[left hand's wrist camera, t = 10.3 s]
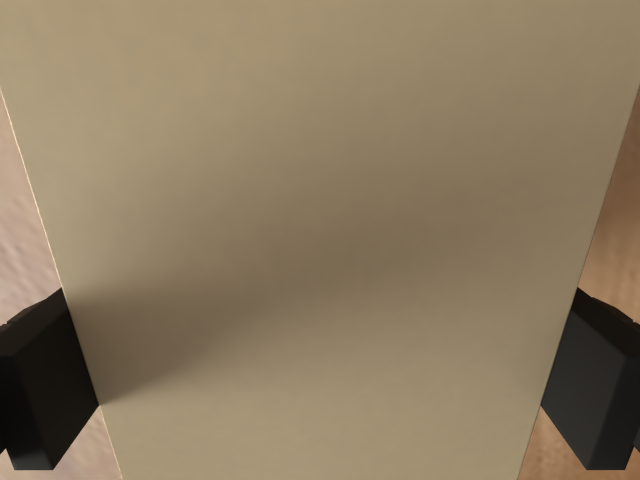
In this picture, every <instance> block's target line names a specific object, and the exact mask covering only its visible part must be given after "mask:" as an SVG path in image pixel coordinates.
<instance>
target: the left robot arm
mask: <svg viewBox="0 0 640 480" xmlns="http://www.w3.org/2000/svg"><path fill="white" fill-rule="evenodd" d="M98 406H99V404H98V401H97V398H96V394H95V391H94V388H93V385H92V382H91V379H90V375H89V372H88V369H87V366H86V363H85V359H84V356H83V353H82V350H81V347H80V343H79V340H78V337H77V334H76V331H75V328H74V324H73V321H72V318H71V315H70V312H69V308H68V305H67V302H66V299H65V296H64V293H63V289H62V287H61V288H60V289H59V290H57V291H56V292H55V293H53V294H52V295H51V296H49V297H48V298H47V299H45V300H43V301H41V302H38V303H36V304H34V305H32V306H30V307H28V308H26V309H24V310H22V311H21V312H19V313H18V314H17V315H15V316H14V317H13V318H11V319H10V320H8V321H7V324H3V325H2V326H0V454H1V453H2V452H3V451H4V450H5V448H6V450H7V452H8V455H9V457H10V460H11V462H12V465H13V467H14V470H53V469H54V468H55V467H56V465H57V464H58V462H59V461H60V460H61V458H62V457H63V455H64V454H65V453H66V451H67V450H68V448H69V447H70V445H71V444H72V443H73V441H74V440H75V438H76V437H77V436H78V434H79V433H80V431H81V430H82V429H83V427H84V426H85V424H86V423H87V422H88V420H89V419H90V417H91V416H92V414H93V413H94V412H95V410H96V409H97V407H98ZM541 407H542V408H543V409H544V411H545V412H546V414H547V415H548V416H549V418H550V419H551V421H552V422H553V424H554V425H555V426H556V428H557V429H558V431H559V432H560V433H561V435H562V436H563V438H564V439H565V440H566V442H567V443H568V445H569V446H570V448H571V449H572V450H573V452H574V453H575V455H576V456H577V457H578V459H579V460H580V462H581V463H582V464H583V466H584V467H585V469H586V470H625V468H626V466H627V463H628V461H629V458H630V456H631V453H632V451H633V448H634V447H635V448H636V449H637V450H638V451H639V452H640V325H639V324H638V323H636V322H633V320H632V319H631V318H629V317H628V316H627V315H625V314H624V313H623V312H621V311H620V310H618V309H617V308H615V307H613V306H611V305H609V304H607V303H605V302H602V301H600V300H598V299H596V298H594V297H590V296H589V295H588V294H586V293H585V292H584V291H582V290H581V289H580V288H578V287H577V290H576V293H575V296H574V299H573V303H572V306H571V309H570V312H569V316H568V319H567V322H566V325H565V328H564V332H563V335H562V338H561V341H560V344H559V348H558V351H557V354H556V357H555V361H554V364H553V367H552V370H551V373H550V377H549V380H548V383H547V386H546V389H545V393H544V396H543V399H542V402H541Z"/></svg>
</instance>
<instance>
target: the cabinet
mask: <svg viewBox="0 0 640 480" xmlns="http://www.w3.org/2000/svg"><path fill="white" fill-rule="evenodd" d="M639 87H640V0H0V92H1V95H2V98H3V101H4V104H5V108H6V111H7V114H8V117H9V120H10V124H11V127H12V130H13V133H14V136H15V140H16V143H17V146H18V149H19V152H20V155H21V159H22V162H23V165H24V168H25V171H26V175H27V178H28V181H29V184H30V187H31V191H32V194H33V197H34V200H35V203H36V206H37V210H38V213H39V216H40V219H41V222H42V226H43V229H44V232H45V235H46V238H47V242H48V245H49V248H50V251H51V254H52V257H53V261H54V264H55V267H56V270H57V273H58V277H59V280H60V283H61V286H62V289H63V293H64V296H65V299H66V302H67V305H68V308H69V312H70V315H71V318H72V321H73V324H74V328H75V331H76V334H77V337H78V340H79V343H80V347H81V350H82V353H83V356H84V359H85V363H86V366H87V369H88V372H89V375H90V379H91V382H92V385H93V388H94V391H95V394H96V398H97V401H98V404H99V407H100V410H101V414H102V417H103V420H104V423H105V426H106V430H107V433H108V436H109V439H110V442H111V445H112V449H113V452H114V455H115V458H116V461H117V465H118V468H119V471H120V474H121V477H122V480H517V479H518V476H519V473H520V470H521V467H522V463H523V460H524V457H525V454H526V451H527V447H528V444H529V441H530V438H531V434H532V431H533V428H534V425H535V422H536V418H537V415H538V412H539V409H540V406H541V402H542V399H543V396H544V393H545V389H546V386H547V383H548V380H549V377H550V373H551V370H552V367H553V364H554V361H555V357H556V354H557V351H558V348H559V344H560V341H561V338H562V335H563V332H564V328H565V325H566V322H567V319H568V316H569V312H570V309H571V306H572V303H573V299H574V296H575V293H576V290H577V287H578V283H579V280H580V277H581V274H582V271H583V267H584V264H585V261H586V258H587V254H588V251H589V248H590V245H591V242H592V238H593V235H594V232H595V229H596V225H597V222H598V219H599V216H600V213H601V209H602V206H603V203H604V200H605V197H606V193H607V190H608V187H609V184H610V180H611V177H612V174H613V171H614V168H615V164H616V161H617V158H618V155H619V152H620V148H621V145H622V142H623V139H624V135H625V132H626V129H627V126H628V123H629V119H630V116H631V113H632V110H633V107H634V103H635V100H636V97H637V94H638V90H639Z"/></svg>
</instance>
